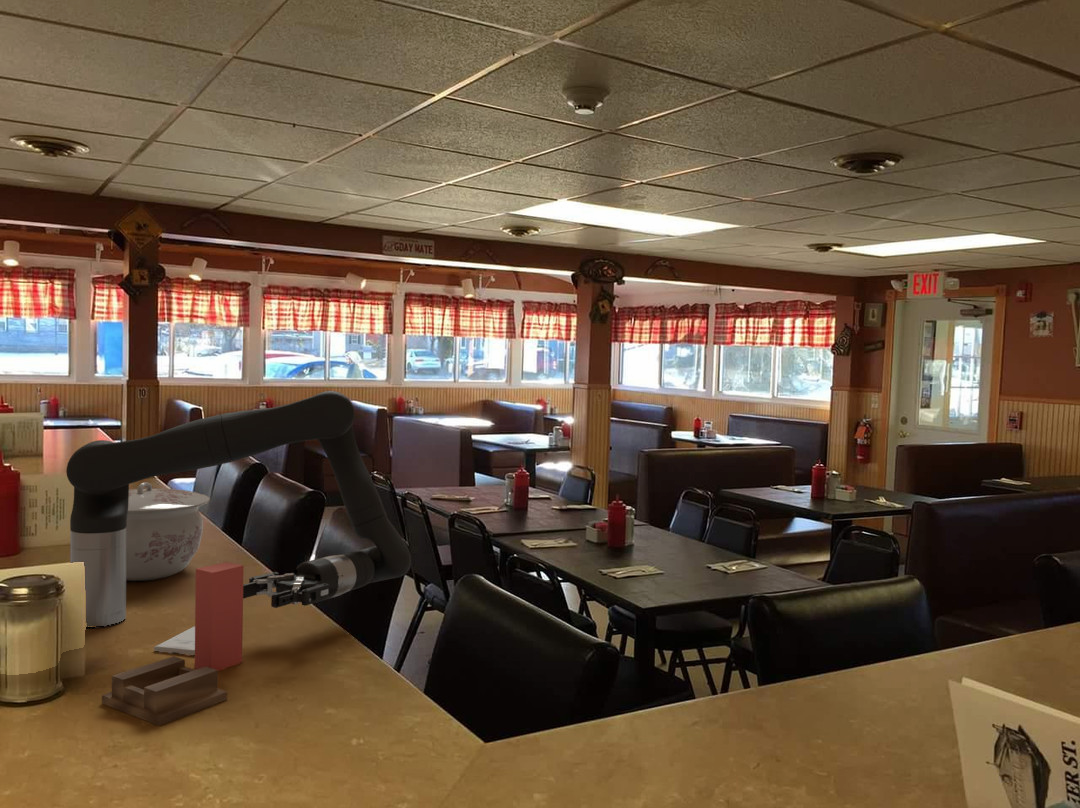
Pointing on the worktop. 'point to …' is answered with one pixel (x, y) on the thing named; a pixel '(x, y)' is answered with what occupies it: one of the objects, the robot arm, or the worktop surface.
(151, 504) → the chamber pot
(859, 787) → the worktop surface
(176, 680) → the rack
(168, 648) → the external hard drive
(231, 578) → the salmon rectangular prism
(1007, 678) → the worktop surface
